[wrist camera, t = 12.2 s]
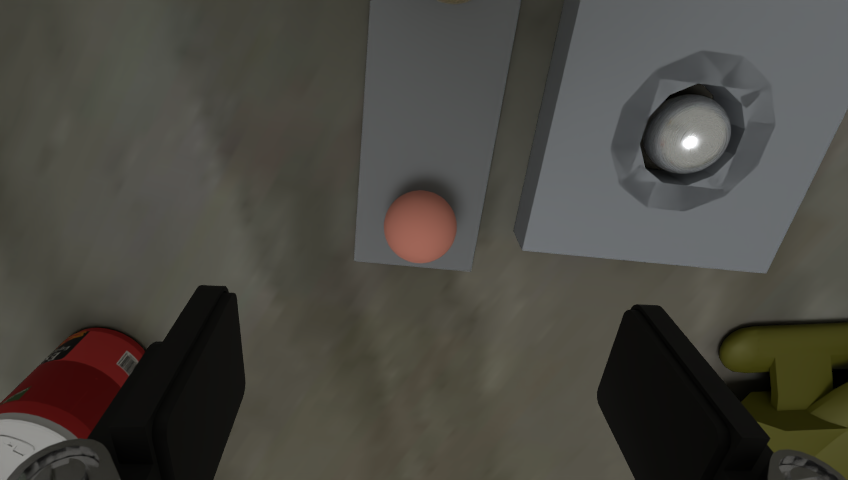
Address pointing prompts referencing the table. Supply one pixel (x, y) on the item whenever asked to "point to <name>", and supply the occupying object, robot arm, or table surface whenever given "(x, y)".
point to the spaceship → (797, 386)
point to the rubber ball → (420, 226)
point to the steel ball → (687, 134)
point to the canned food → (65, 394)
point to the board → (645, 91)
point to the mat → (431, 115)
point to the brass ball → (453, 1)
